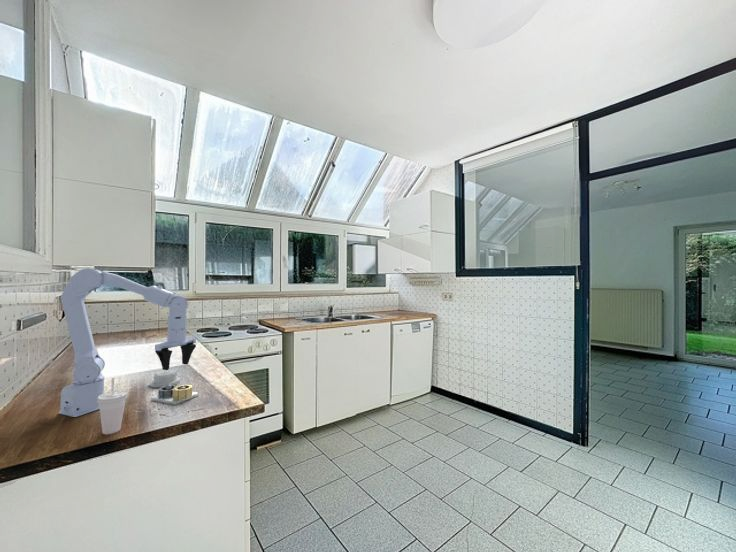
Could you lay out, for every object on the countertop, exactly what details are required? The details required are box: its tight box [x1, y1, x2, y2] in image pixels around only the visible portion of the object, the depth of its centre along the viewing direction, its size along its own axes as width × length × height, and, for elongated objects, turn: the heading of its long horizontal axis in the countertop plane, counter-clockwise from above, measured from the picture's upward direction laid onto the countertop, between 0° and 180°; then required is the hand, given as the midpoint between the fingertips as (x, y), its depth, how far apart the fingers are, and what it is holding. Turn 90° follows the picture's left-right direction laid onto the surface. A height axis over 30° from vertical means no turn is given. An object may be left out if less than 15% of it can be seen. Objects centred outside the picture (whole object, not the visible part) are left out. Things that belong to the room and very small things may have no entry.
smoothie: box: [97, 377, 129, 435], centre depth 82 cm, size 6×6×14 cm
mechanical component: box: [149, 370, 181, 389], centre depth 120 cm, size 10×4×10 cm
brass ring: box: [173, 384, 194, 400], centre depth 104 cm, size 6×6×3 cm
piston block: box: [150, 384, 199, 406], centre depth 105 cm, size 9×12×4 cm
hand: (175, 366), depth 109 cm, fingers open, 7 cm apart
